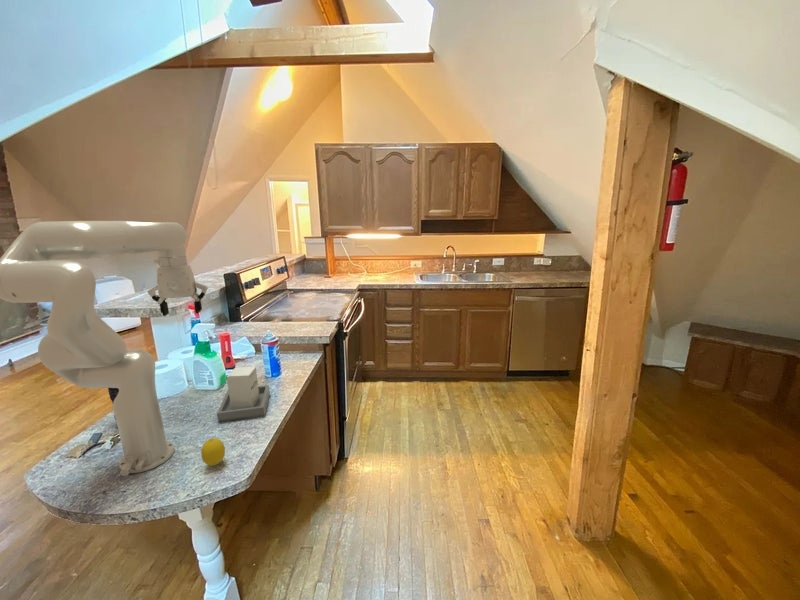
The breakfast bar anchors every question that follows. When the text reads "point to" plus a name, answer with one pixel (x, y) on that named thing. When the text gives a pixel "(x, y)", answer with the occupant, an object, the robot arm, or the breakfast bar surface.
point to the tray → (247, 413)
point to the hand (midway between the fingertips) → (182, 313)
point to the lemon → (213, 451)
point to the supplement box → (243, 387)
